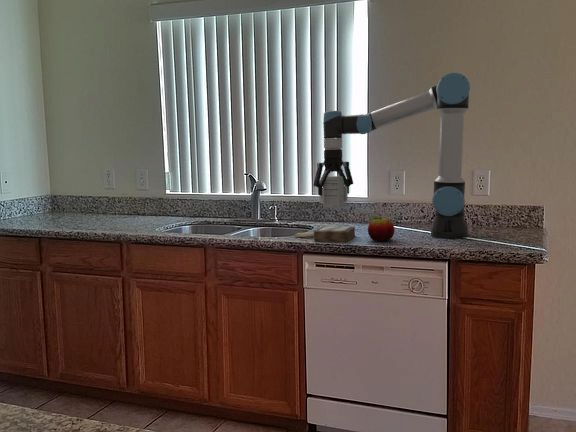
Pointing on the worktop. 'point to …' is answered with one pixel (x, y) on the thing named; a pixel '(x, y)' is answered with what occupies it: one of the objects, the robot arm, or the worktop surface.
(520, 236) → the worktop surface
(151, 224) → the worktop surface
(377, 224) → the fruit
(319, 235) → the stand
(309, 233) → the cork coaster
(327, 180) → the supplement box
